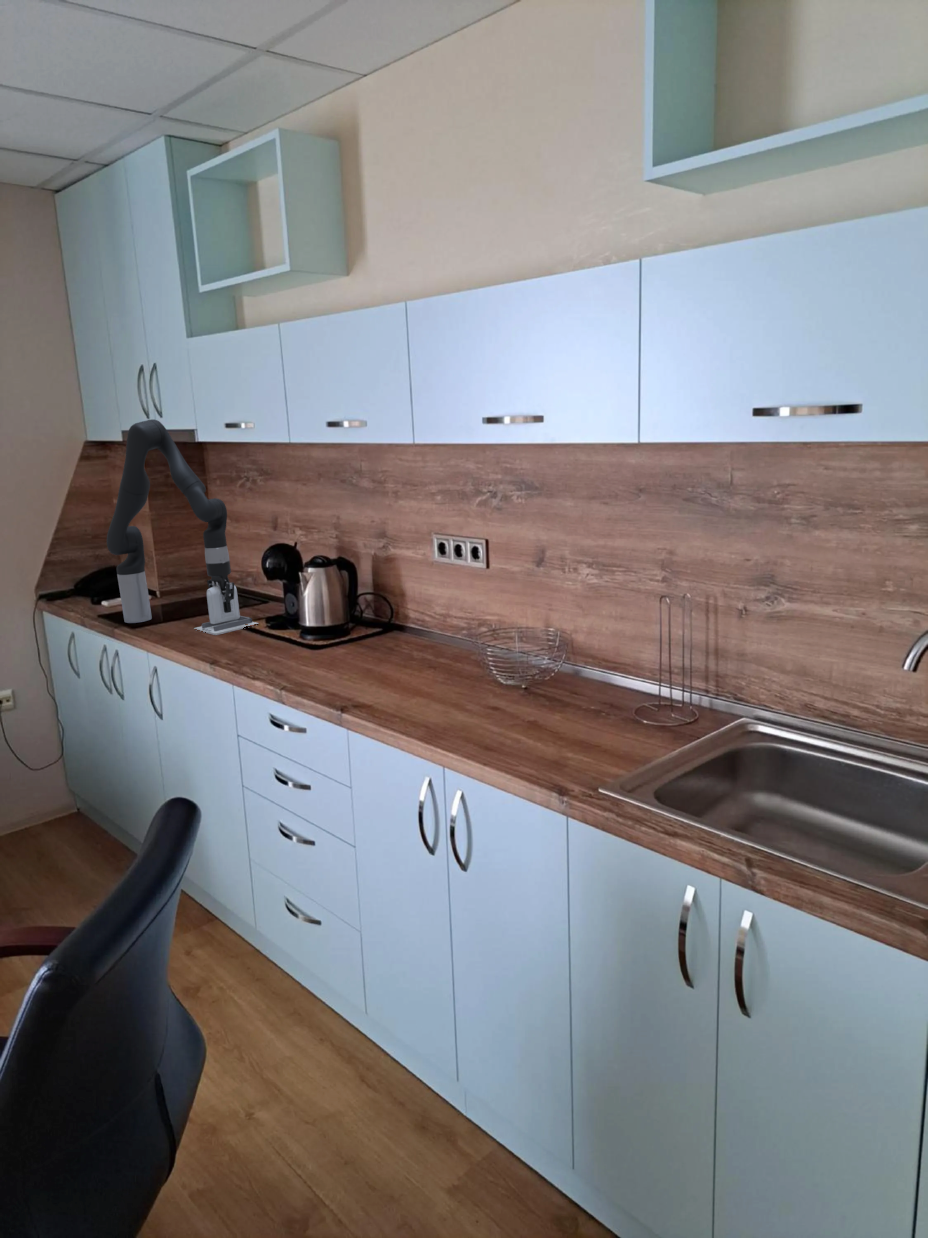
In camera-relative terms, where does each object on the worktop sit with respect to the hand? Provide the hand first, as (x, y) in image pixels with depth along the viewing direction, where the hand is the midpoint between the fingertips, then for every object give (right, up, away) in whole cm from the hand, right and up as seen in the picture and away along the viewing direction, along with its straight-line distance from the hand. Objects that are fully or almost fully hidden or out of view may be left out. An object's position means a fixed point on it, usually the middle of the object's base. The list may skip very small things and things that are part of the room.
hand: (224, 611), depth 297 cm
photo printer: (0, -3, +1) cm, 4 cm away
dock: (0, -5, +1) cm, 5 cm away
